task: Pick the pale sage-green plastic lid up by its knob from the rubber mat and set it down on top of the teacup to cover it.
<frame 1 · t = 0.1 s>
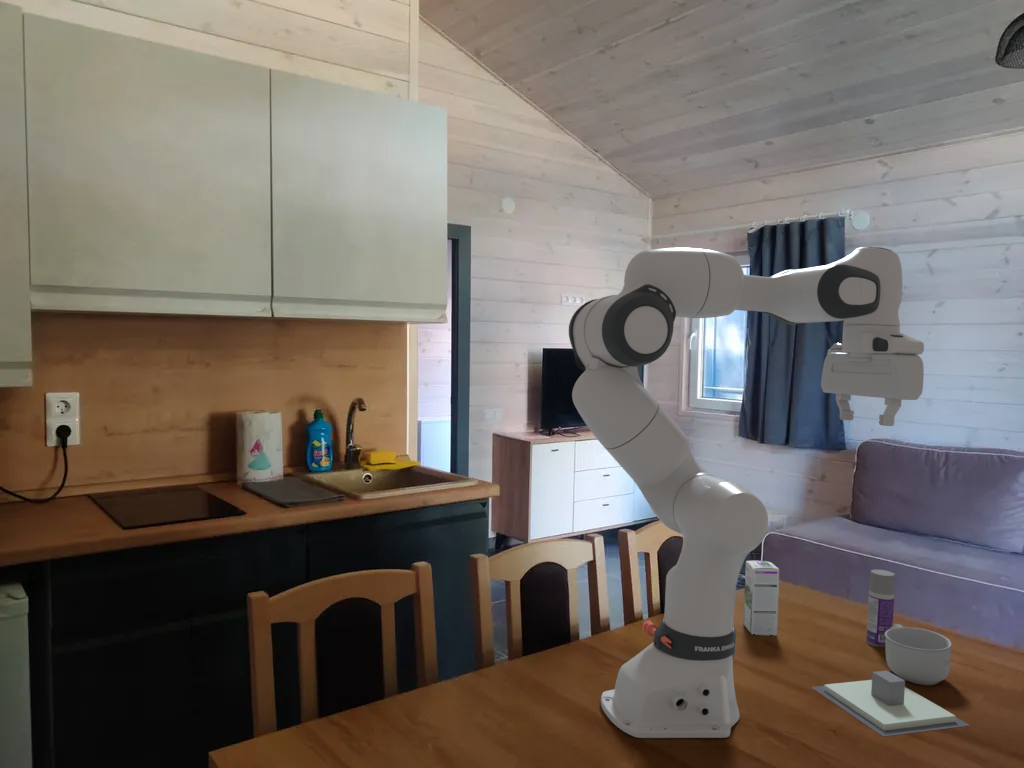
hand: (865, 422, 127), 48 cm above the table, tool pointing down, fingers open, 8 cm apart
teacup: (912, 676, 137), on the table
container: (878, 644, 152), on the table
syrup box: (759, 631, 157), on the table
lid: (886, 705, 124), resting on mat
mat: (886, 707, 124), on the table
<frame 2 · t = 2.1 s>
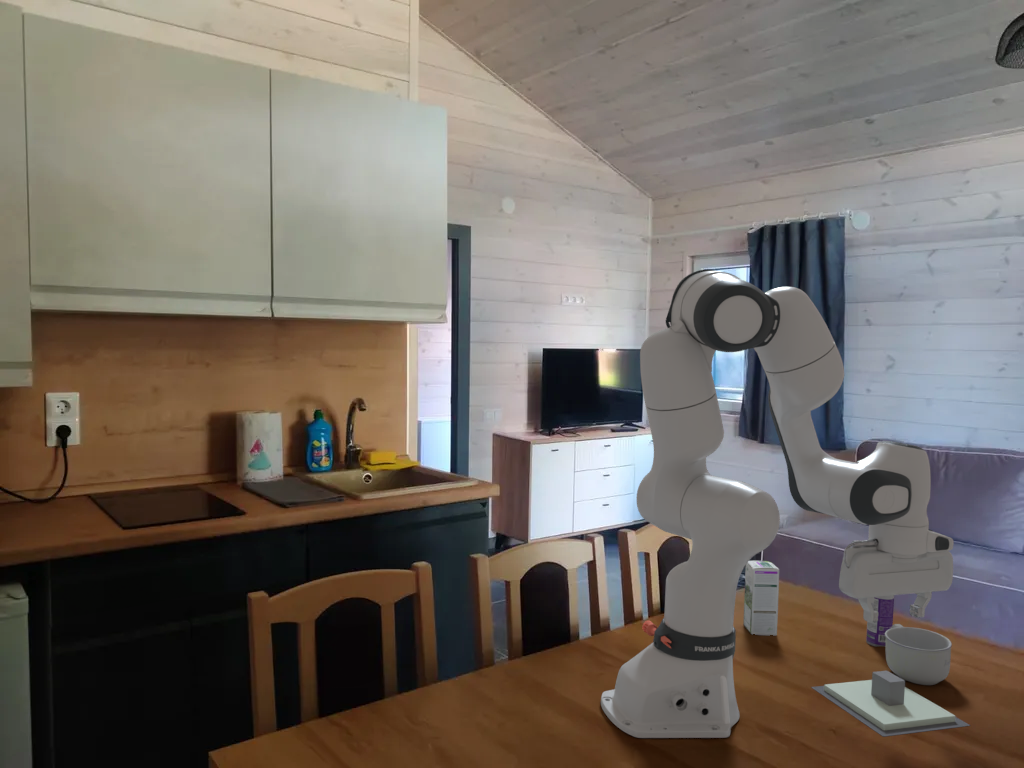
hand: (893, 618, 123), 15 cm above the table, tool pointing down, fingers open, 8 cm apart
nothing on the table moved.
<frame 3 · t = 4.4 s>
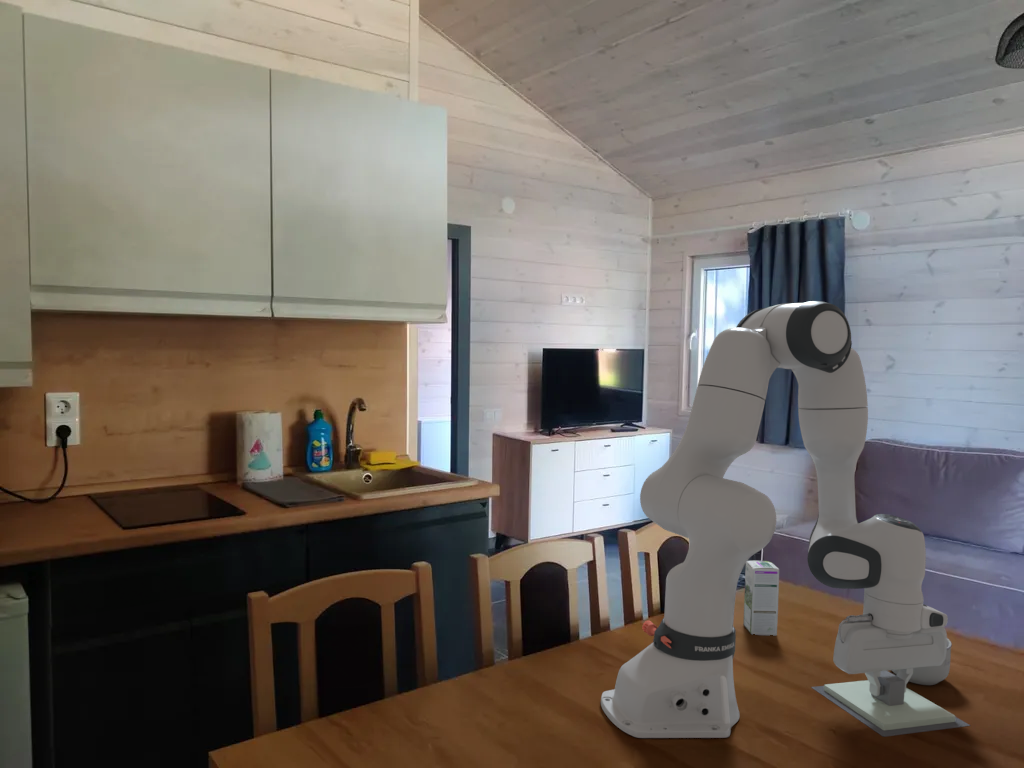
hand: (887, 693, 123), 2 cm above the table, tool pointing down, fingers closed on lid, 3 cm apart
lid: (886, 705, 123), resting on mat, touching gripper
everything else where it was.
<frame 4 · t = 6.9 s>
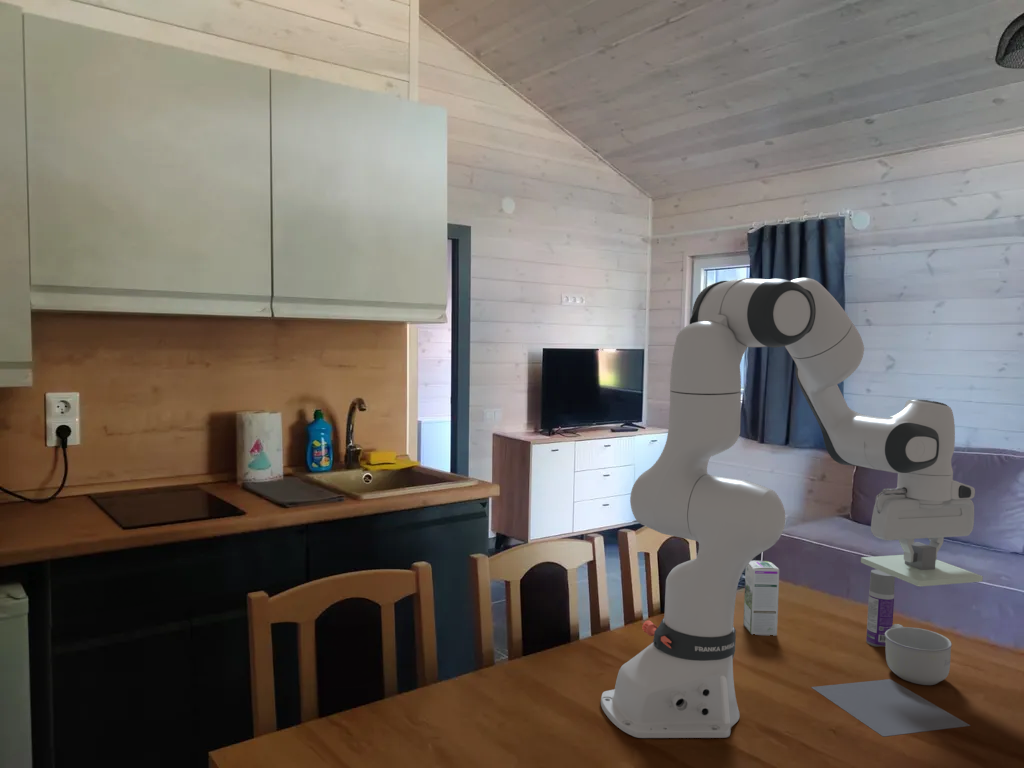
hand: (920, 560, 136), 22 cm above the table, tool pointing down, fingers closed on lid, 3 cm apart
lid: (919, 571, 136), point 20 cm above the table, touching gripper
everything else where it was.
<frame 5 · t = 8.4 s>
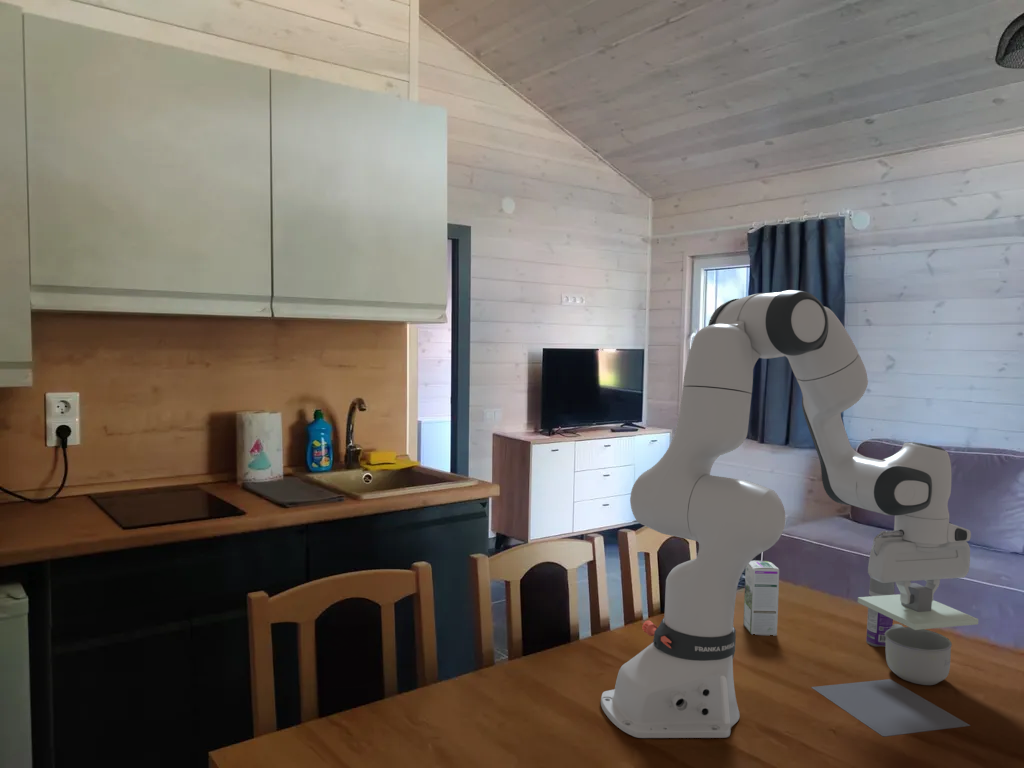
hand: (916, 602, 137), 14 cm above the table, tool pointing down, fingers closed on lid, 3 cm apart
lid: (915, 612, 137), point 12 cm above the table, touching gripper
everything else where it was.
when the fingers open (12 cm above the table, at t = 9.5 s): lid drops 2 cm, resting on teacup.
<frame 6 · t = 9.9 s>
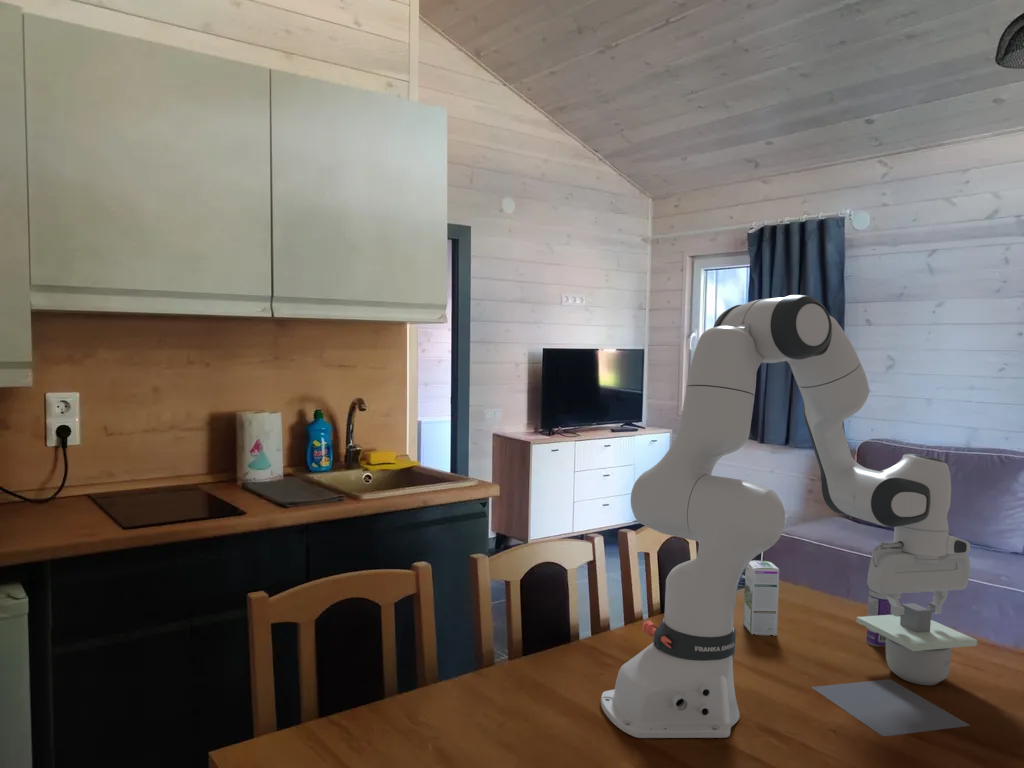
hand: (915, 614, 137), 12 cm above the table, tool pointing down, fingers open, 7 cm apart
teacup: (912, 676, 137), on the table, touching lid
lid: (914, 633, 137), point 8 cm above the table, touching teacup
everything else where it was.
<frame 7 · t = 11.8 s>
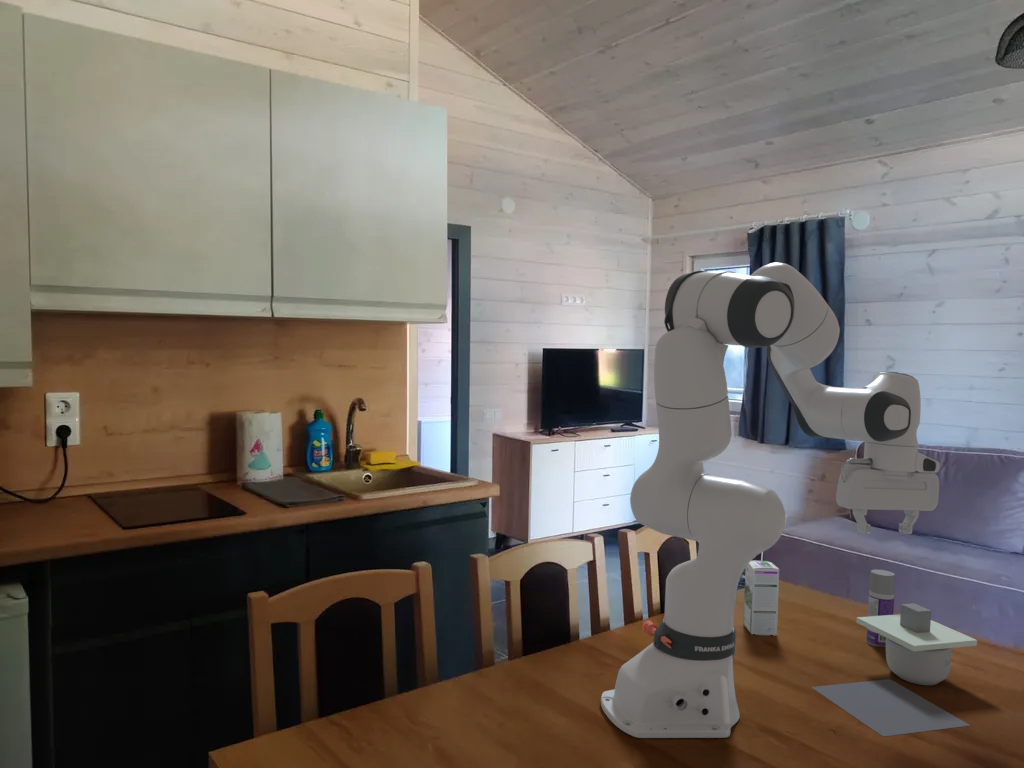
hand: (884, 533, 136), 27 cm above the table, tool pointing down, fingers open, 8 cm apart
nothing on the table moved.
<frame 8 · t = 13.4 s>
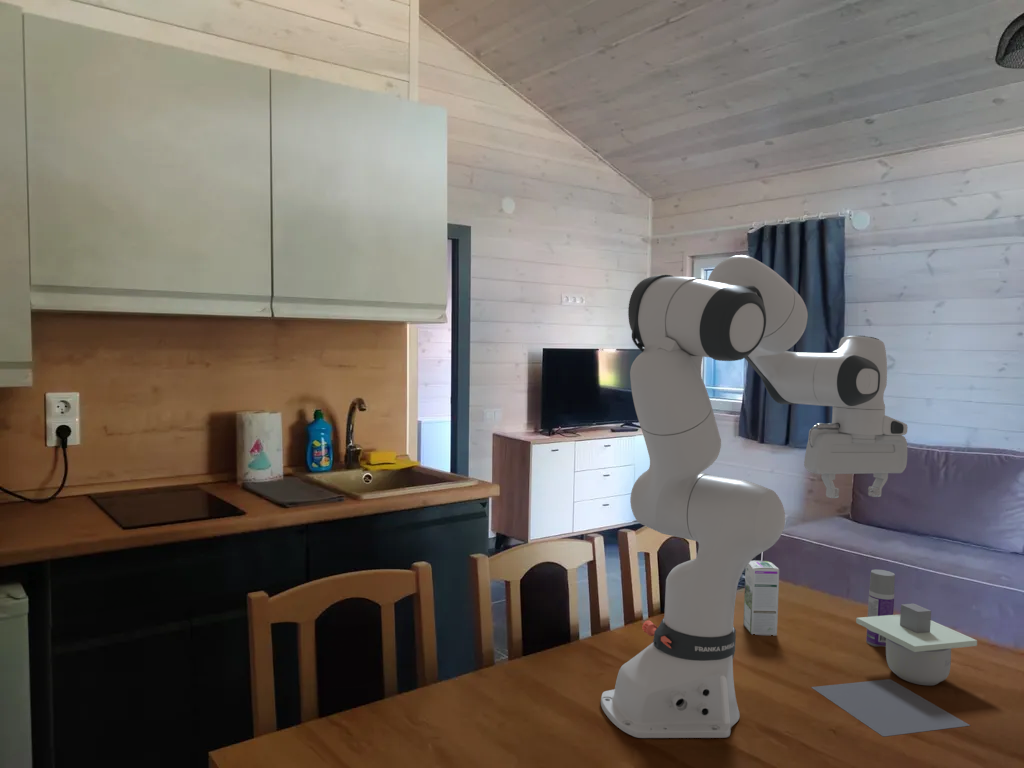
hand: (853, 497, 136), 33 cm above the table, tool pointing down, fingers open, 8 cm apart
nothing on the table moved.
at the end: lid inside the target area on the teacup (0.3 cm from its centre), point 8.2 cm above the teacup's base; lid tilted 0°; the gripper is holding nothing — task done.
